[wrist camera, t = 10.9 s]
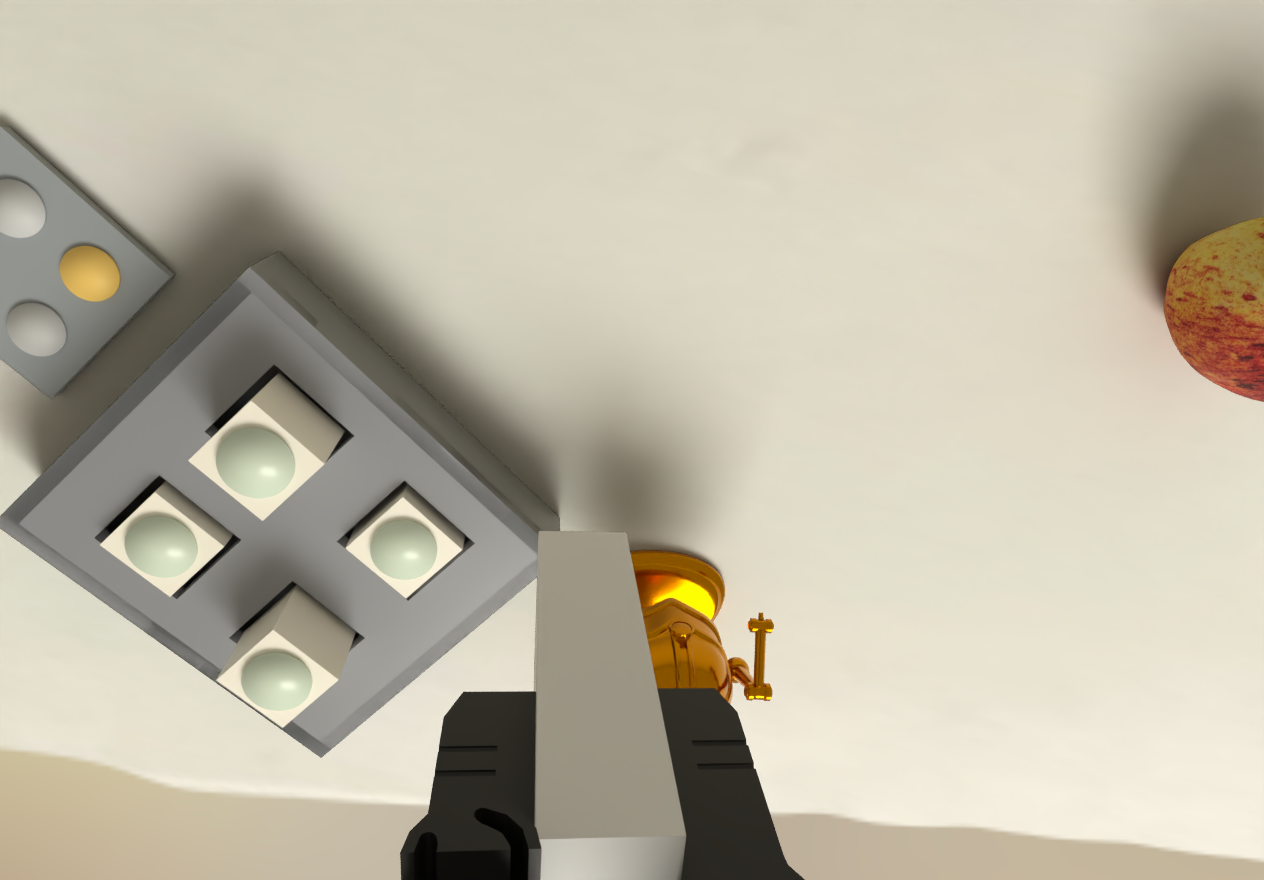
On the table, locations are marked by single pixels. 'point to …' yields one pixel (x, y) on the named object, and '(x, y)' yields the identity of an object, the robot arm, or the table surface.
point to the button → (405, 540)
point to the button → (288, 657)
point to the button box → (289, 498)
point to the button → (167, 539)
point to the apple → (1221, 307)
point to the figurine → (693, 626)
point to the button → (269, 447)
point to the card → (62, 271)
